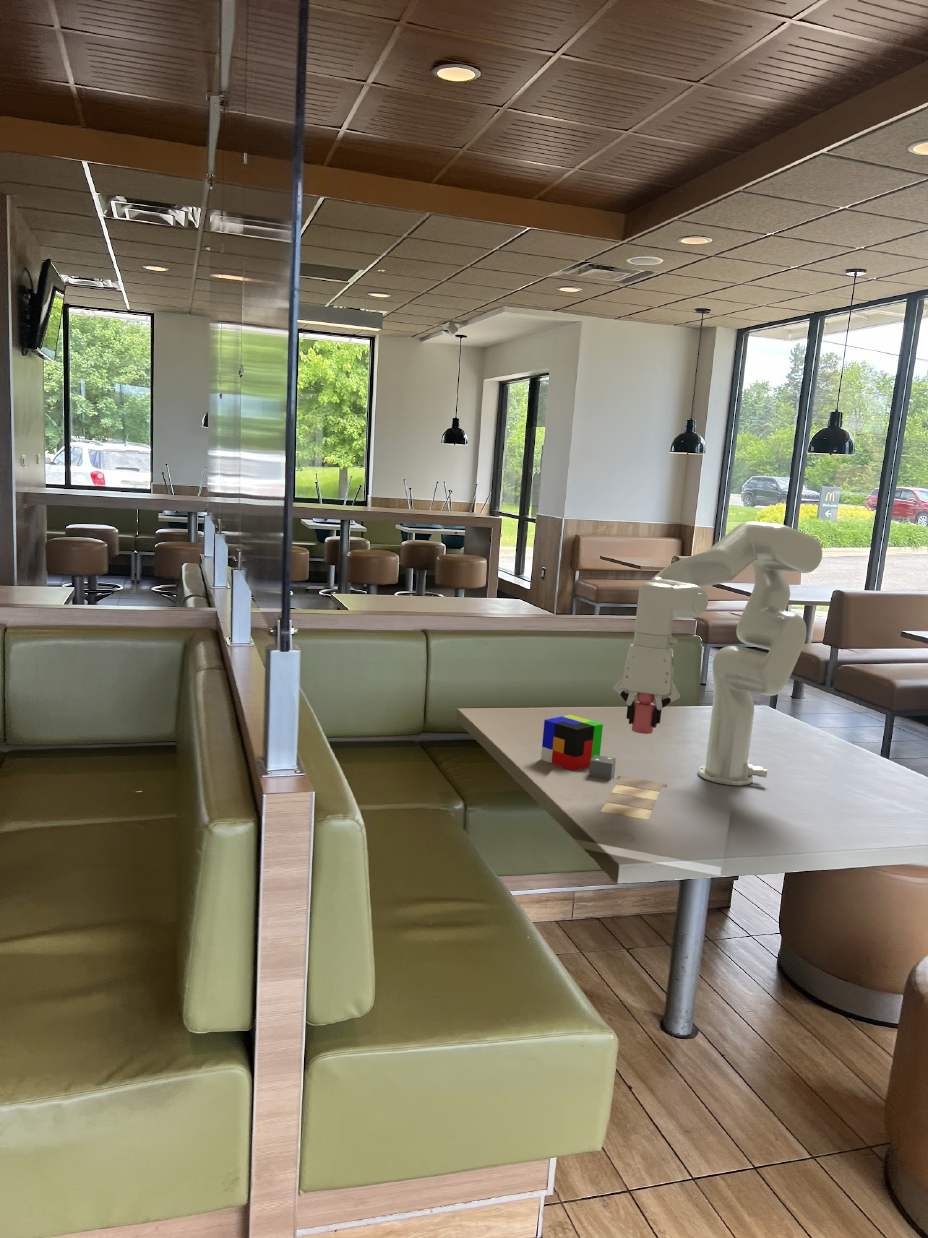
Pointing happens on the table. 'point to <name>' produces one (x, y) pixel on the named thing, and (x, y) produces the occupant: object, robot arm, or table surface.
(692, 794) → the table surface
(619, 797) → the board
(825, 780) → the table surface
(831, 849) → the table surface
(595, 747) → the puzzle toy
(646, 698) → the pawn
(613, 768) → the die
